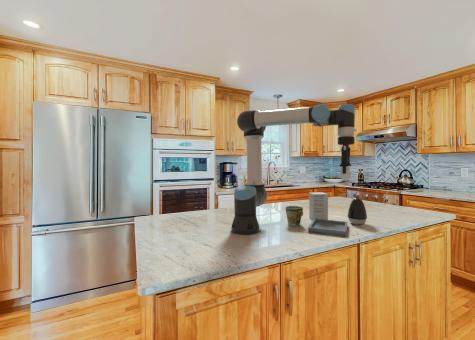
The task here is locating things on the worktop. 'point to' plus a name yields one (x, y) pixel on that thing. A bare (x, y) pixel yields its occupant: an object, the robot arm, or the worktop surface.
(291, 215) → the ceramic cup
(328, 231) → the tray
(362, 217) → the dark grey egg shape
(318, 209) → the supplement box
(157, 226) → the worktop surface
